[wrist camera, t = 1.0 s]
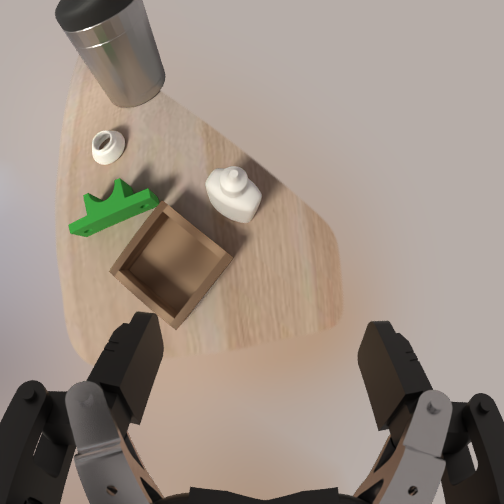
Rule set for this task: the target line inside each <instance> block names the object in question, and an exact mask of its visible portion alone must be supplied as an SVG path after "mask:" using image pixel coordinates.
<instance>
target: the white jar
mask: <svg viewBox="0 0 504 504" xmlns="http://www.w3.org/2000/svg"><path fill="white" fill-rule="evenodd" d="M110 137H111V138H110ZM107 138H110V142H109V143H107V144H106V145H105V146H104V148H103V149H101V150H99V147H100V145H101V144H102V142H103V141H104V140H106V139H107ZM124 147H125V139H124V137H123V136H122V134H121V133H119V132H117V131H101V132H99V133H98V134H96V136H95V137H94V138H93V141H92V154H93V157H94V159H95V161H96V162H98V163H100V164H105V165H107V164H110V163H113V162H114V161H115V160H117V159H118V158H119V157H120V155H121V154H122V153H123V150H124Z"/></svg>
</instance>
